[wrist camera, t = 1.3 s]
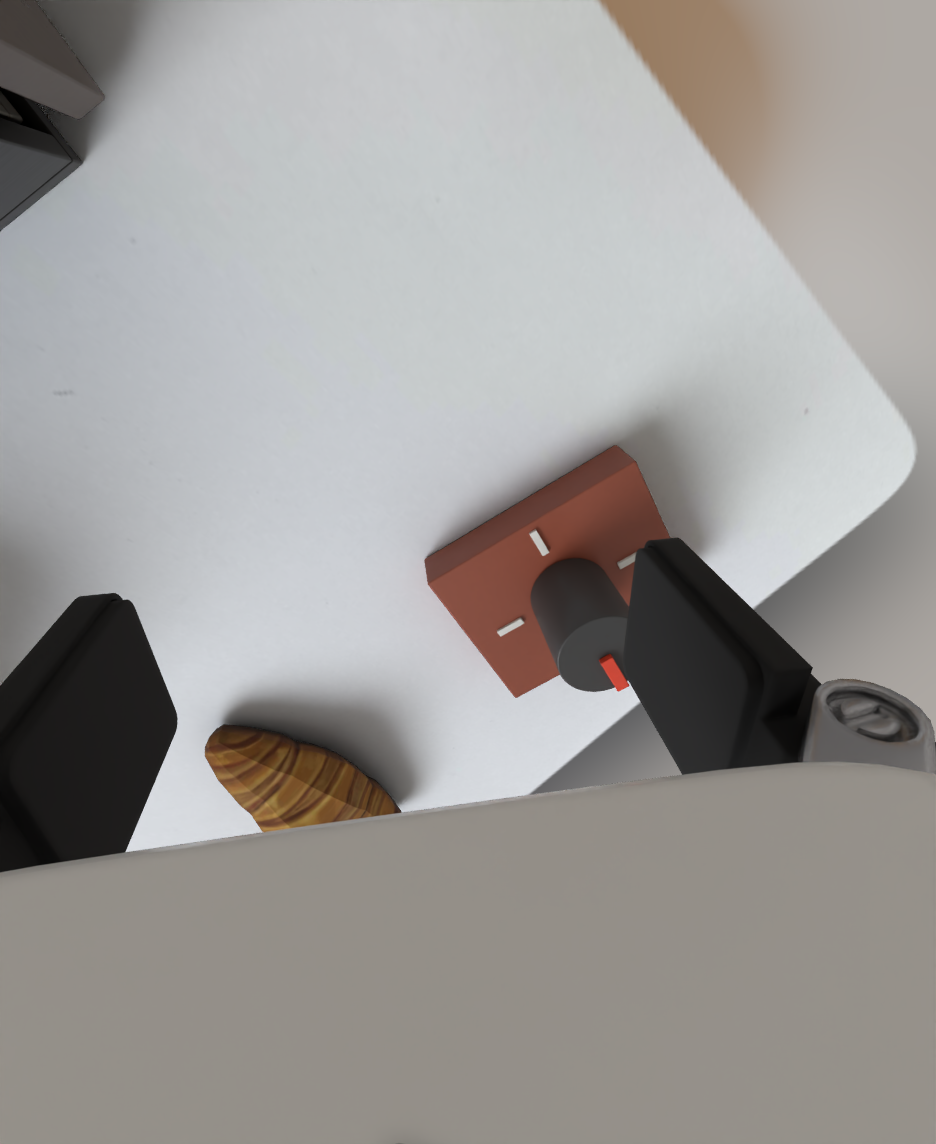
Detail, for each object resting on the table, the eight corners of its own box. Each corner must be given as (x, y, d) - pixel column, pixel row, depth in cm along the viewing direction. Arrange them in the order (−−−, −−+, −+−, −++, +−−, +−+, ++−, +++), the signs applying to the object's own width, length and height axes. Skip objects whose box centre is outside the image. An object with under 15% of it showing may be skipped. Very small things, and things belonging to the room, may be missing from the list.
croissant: (432, 779, 37) (439, 849, 33) (366, 836, 39) (365, 909, 35) (250, 683, 31) (230, 752, 27) (183, 754, 33) (154, 830, 29)
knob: (515, 584, 28) (543, 652, 23) (589, 543, 27) (631, 603, 22) (552, 639, 29) (583, 711, 25) (621, 601, 29) (666, 667, 24)
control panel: (615, 443, 27) (637, 461, 25) (677, 576, 32) (700, 602, 29) (423, 559, 29) (427, 585, 27) (506, 669, 33) (516, 701, 31)
